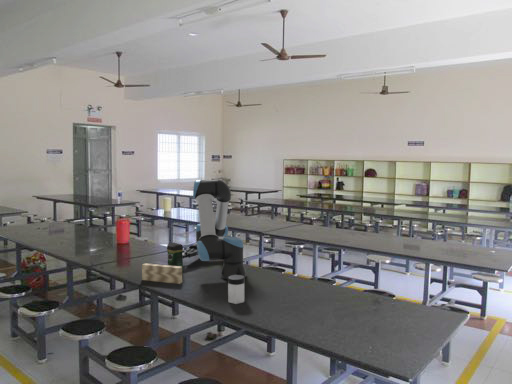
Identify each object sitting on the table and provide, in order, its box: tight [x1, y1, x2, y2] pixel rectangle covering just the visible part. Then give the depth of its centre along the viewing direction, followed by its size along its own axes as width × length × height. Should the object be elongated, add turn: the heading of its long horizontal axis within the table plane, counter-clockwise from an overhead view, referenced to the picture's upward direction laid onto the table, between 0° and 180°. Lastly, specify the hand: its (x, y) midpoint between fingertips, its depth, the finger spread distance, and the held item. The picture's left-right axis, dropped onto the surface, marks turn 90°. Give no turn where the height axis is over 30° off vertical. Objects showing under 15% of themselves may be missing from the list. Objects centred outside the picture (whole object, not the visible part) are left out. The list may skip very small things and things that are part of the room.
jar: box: [227, 275, 246, 305], centre depth 202 cm, size 9×8×12 cm
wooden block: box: [141, 262, 183, 285], centre depth 233 cm, size 24×3×9 cm, turn 73°
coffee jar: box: [166, 242, 184, 274], centre depth 247 cm, size 10×8×19 cm
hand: (179, 258), depth 253 cm, fingers closed
